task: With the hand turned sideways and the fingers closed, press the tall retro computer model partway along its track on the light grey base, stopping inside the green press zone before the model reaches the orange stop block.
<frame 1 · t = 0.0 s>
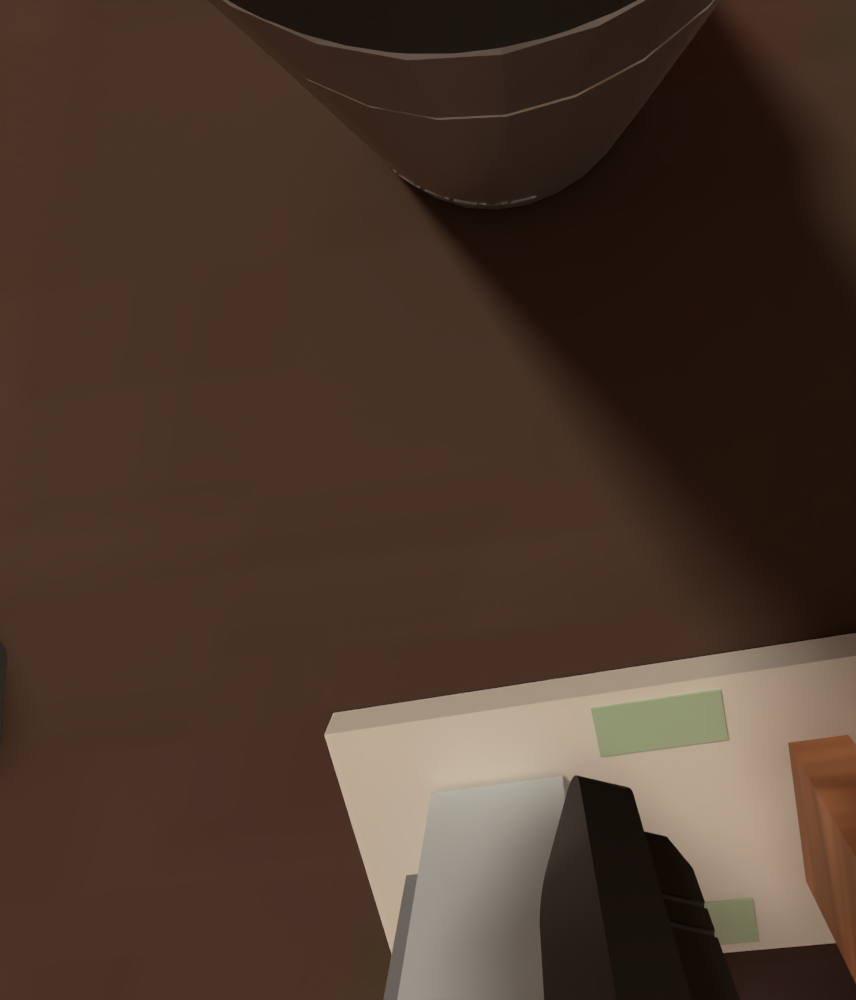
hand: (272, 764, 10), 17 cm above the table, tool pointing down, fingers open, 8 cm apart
key housing: (637, 805, 30), on the table
stop block: (826, 810, 27), point 1 cm above the table, touching key housing
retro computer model: (502, 951, 25), point 6 cm above the table, slide at 0.0 cm
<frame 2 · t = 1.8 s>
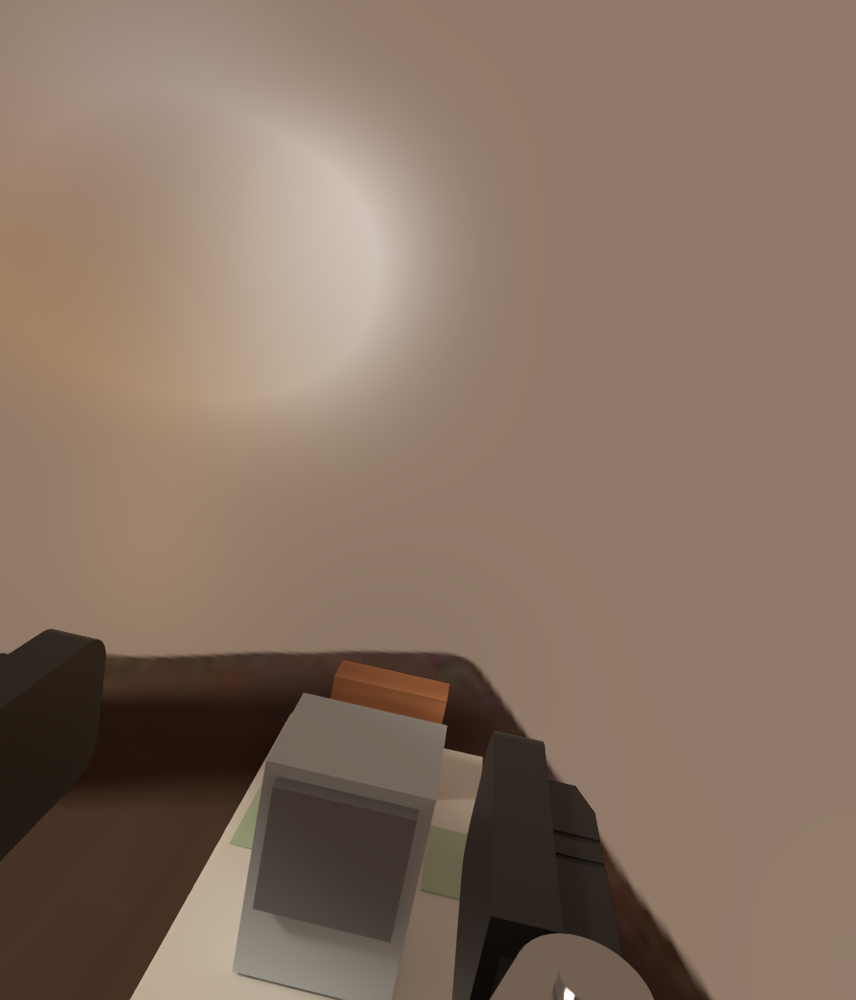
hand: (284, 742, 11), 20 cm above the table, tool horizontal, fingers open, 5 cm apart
key housing: (344, 884, 35), on the table
stop block: (373, 777, 41), point 1 cm above the table, touching key housing
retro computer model: (342, 848, 29), point 6 cm above the table, slide at 0.0 cm
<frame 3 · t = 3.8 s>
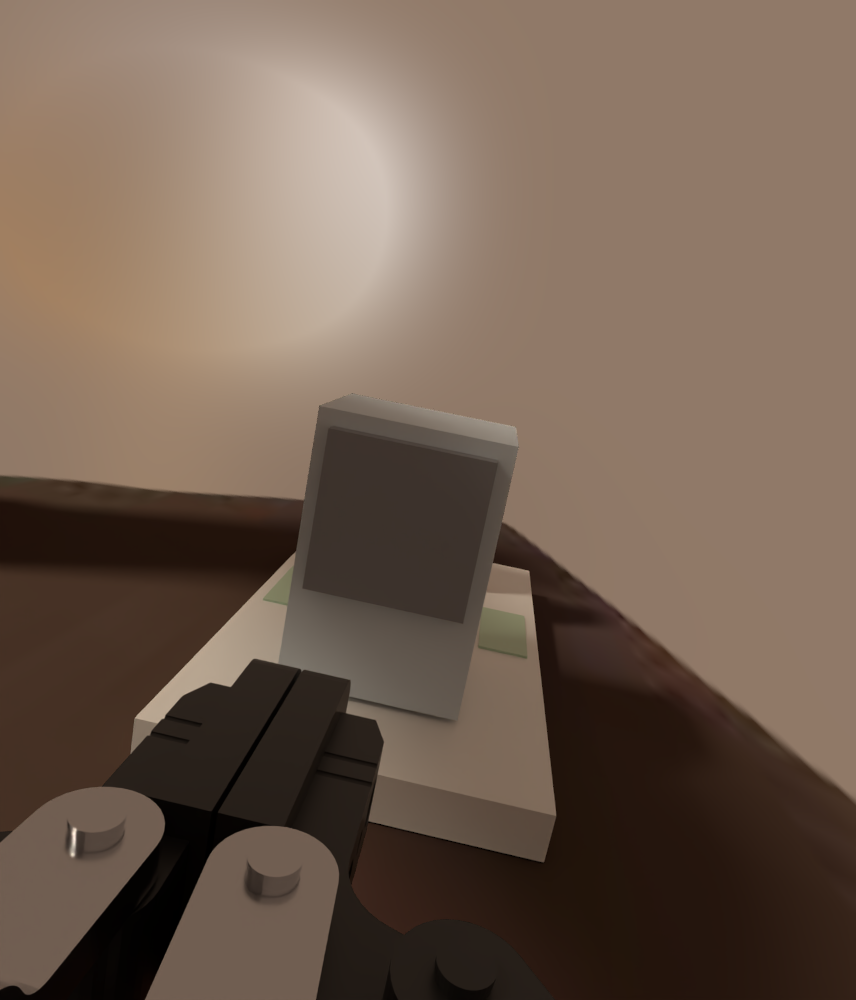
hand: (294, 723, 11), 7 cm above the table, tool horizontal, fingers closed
key housing: (390, 652, 32), on the table
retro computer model: (400, 549, 25), point 6 cm above the table, slide at 0.0 cm
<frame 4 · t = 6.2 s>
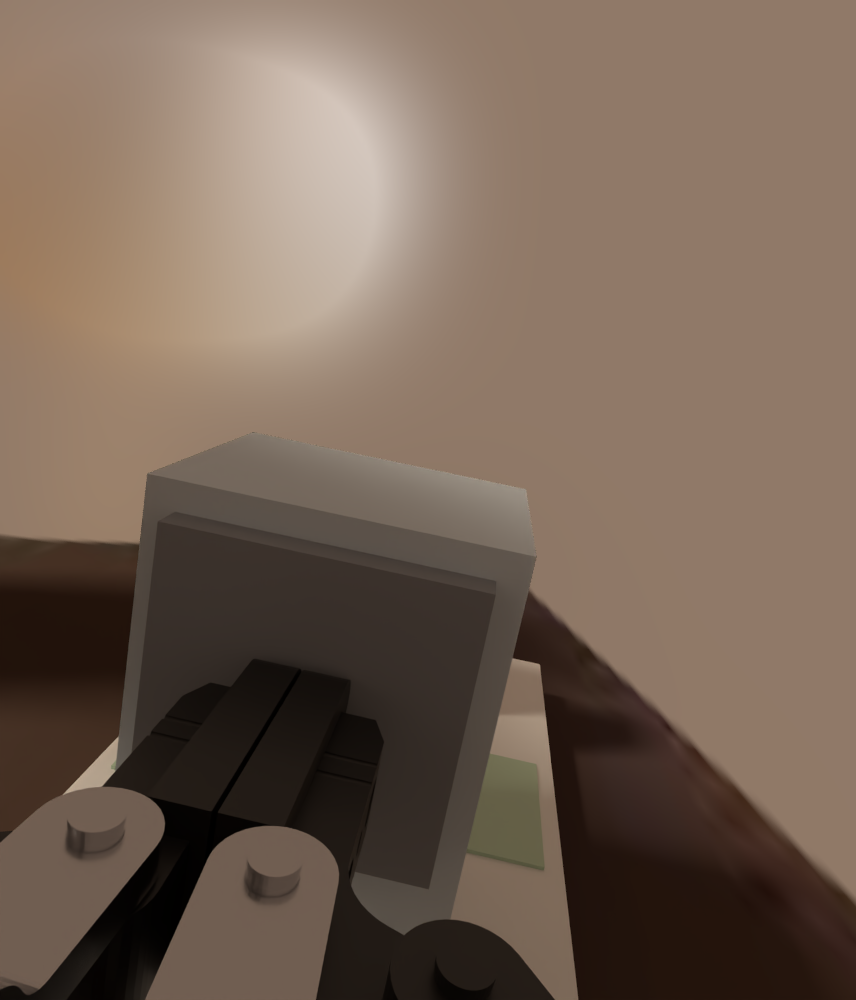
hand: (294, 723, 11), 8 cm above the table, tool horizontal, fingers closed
key housing: (323, 843, 20), on the table
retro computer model: (325, 710, 14), point 6 cm above the table, slide at 1.2 cm, touching gripper
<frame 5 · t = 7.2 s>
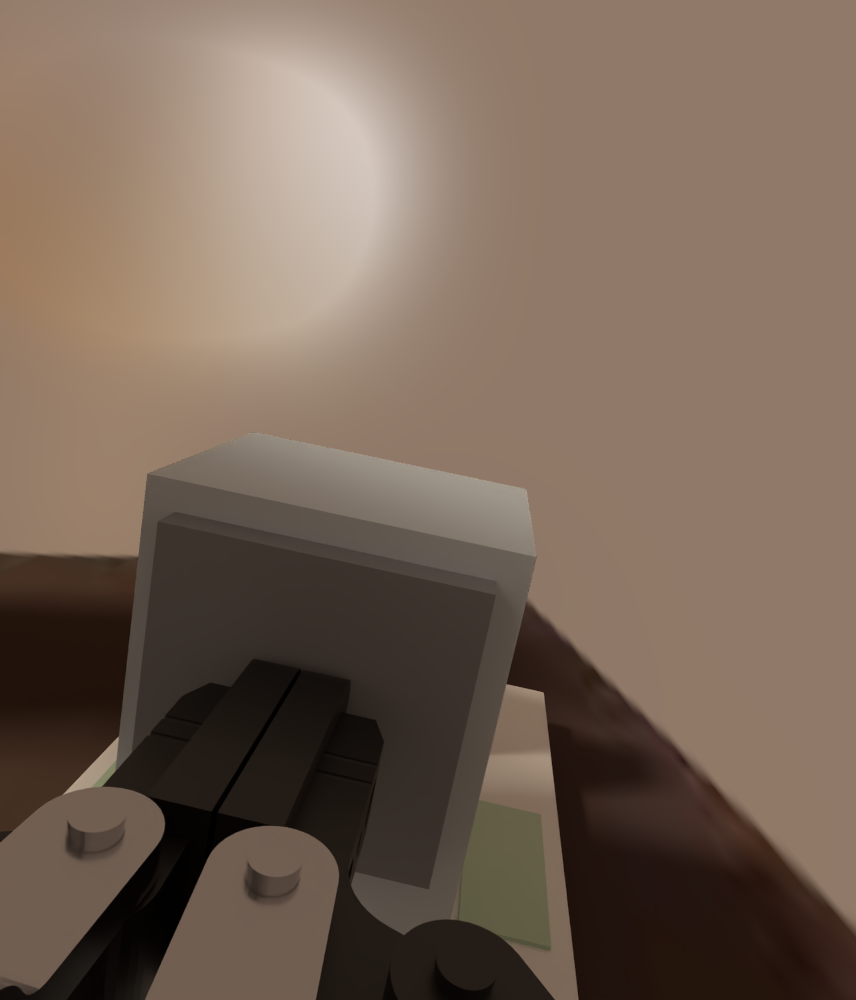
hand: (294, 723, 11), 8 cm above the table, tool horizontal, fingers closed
key housing: (299, 912, 17), on the table
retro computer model: (325, 710, 14), point 6 cm above the table, slide at 3.6 cm, touching gripper
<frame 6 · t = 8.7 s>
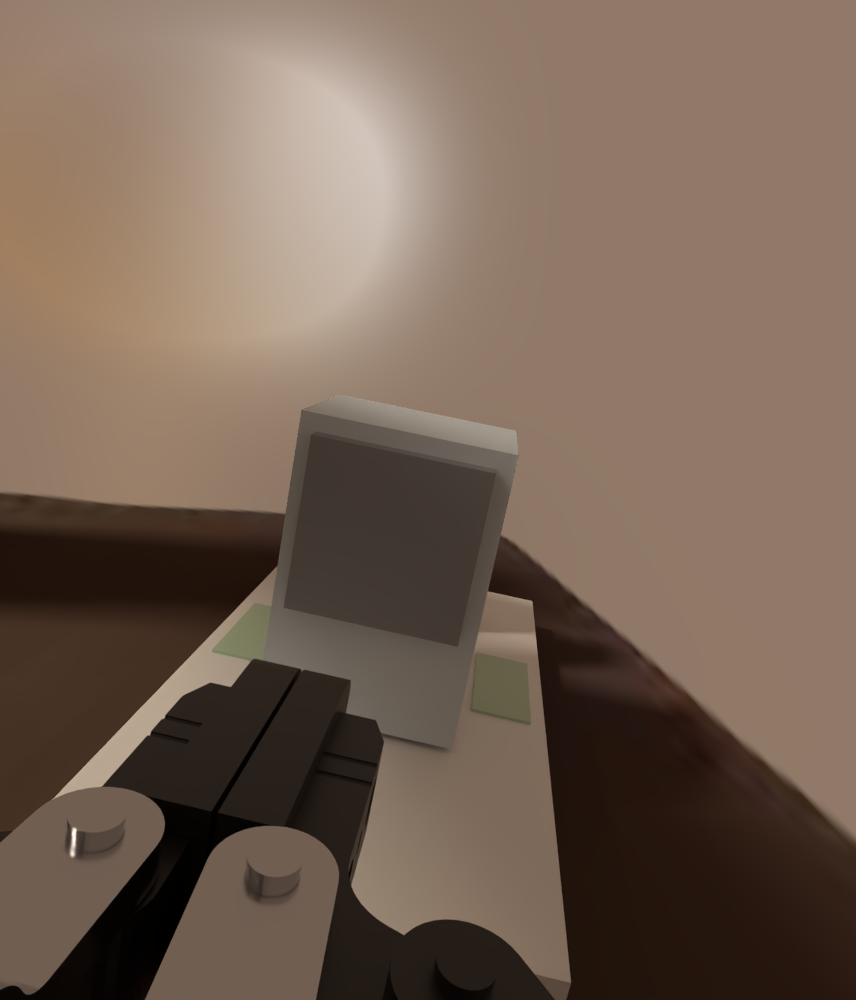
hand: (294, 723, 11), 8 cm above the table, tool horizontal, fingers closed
key housing: (366, 712, 27), on the table
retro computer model: (391, 563, 23), point 6 cm above the table, slide at 3.6 cm
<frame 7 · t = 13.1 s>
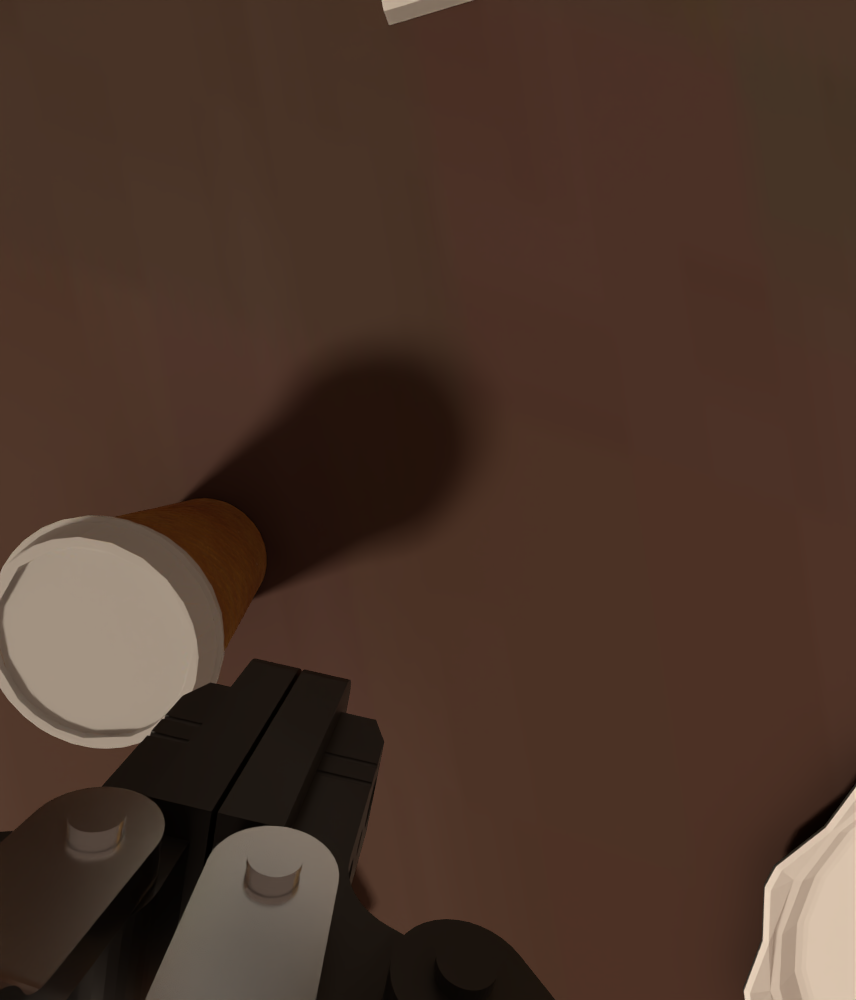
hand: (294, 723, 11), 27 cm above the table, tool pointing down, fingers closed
disposable coffee cup: (210, 554, 40), on the table
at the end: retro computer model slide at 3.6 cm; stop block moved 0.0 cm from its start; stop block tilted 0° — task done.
